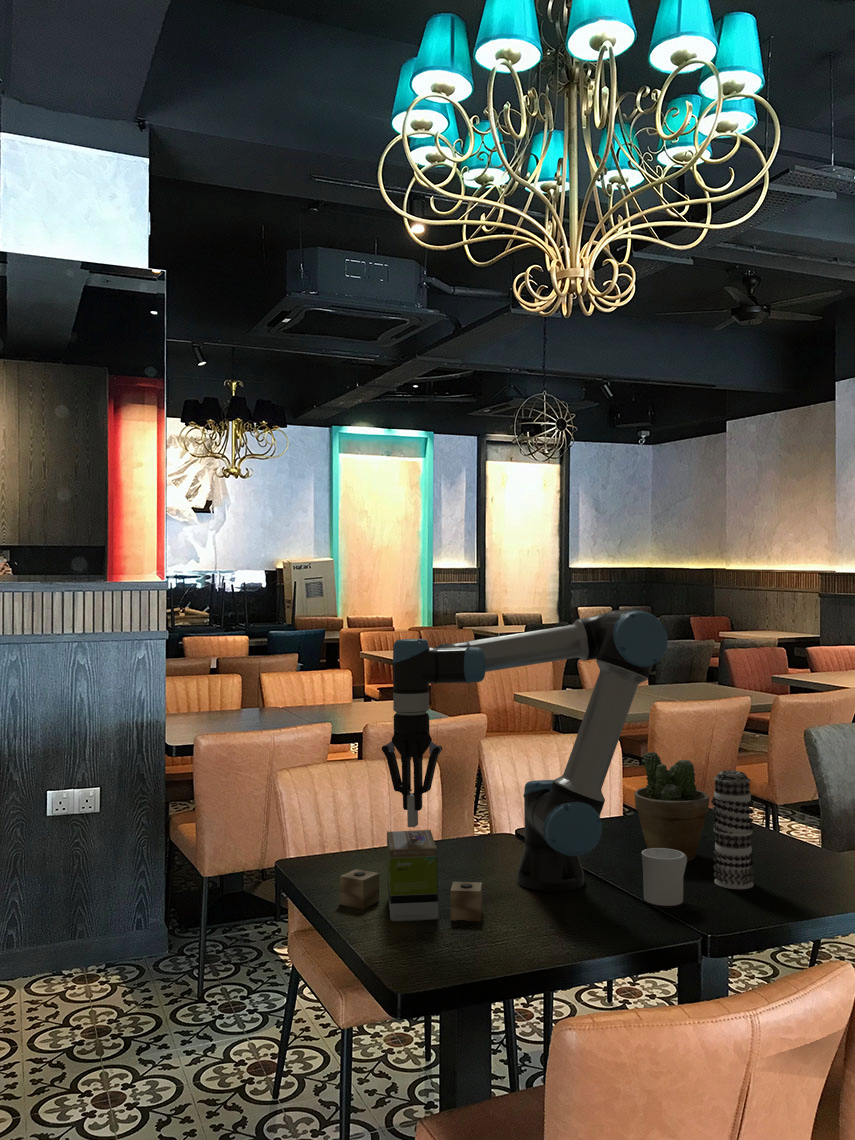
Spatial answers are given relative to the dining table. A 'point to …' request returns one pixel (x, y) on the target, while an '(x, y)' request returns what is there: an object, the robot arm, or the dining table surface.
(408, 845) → the tea box
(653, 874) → the mug
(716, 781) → the decorative candle
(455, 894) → the oak block
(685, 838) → the potted plant
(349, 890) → the oak block
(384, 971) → the dining table surface
